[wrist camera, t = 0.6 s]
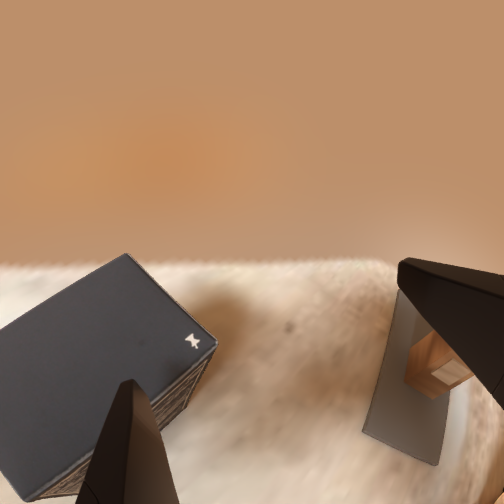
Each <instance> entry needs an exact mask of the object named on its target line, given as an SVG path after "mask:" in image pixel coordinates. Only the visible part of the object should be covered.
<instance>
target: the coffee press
mask: <svg viewBox="0 0 504 504" xmlns="http://www.w3.org/2000/svg"><path fill="white" fill-rule="evenodd" d="M503 492H504V489H503ZM494 504H504V493H503V494H502V495H501V496H500V497H499V498H498V499H497V500H496V502H495V503H494Z"/></svg>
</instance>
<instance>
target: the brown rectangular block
mask: <svg viewBox="0 0 504 504" xmlns="http://www.w3.org/2000/svg"><path fill="white" fill-rule="evenodd" d="M472 376H474V373H473V372H472V371H471V370H470V369H469V368H468V367H467V365H466V364H465V363H464V362H463V361H462V360H461V359H460V357H459V356H458V355H457V354H456V353H455V352H454V351H453V350H452V349H451V347H450V346H449V345H448V344H447V343H446V342H445V341H444V340H443V339H442V338H441V337H440V335H439V334H438V333H437V332H436V331H435V330H433V331H432V332H431V333H429V334H428V335H427V336H425V337H424V338H423V339H422V340H420V341H419V342H418V343H416V344H415V345H414V346H412V347H411V348H410V350H409V356H408V362H407V367H406V372H405V377H404V382H405V383H406V384H408V385H410V386H411V387H413V388H414V389H416V390H418V391H419V392H421V393H423V394H424V395H426V396H427V397H429V398H431V399H432V400H433V399H434V398H436V397H438V396H440V395H442V394H444V393H445V392H447V391H449V390H451V389H452V388H454V387H456V386H457V385H459V384H461V383H462V382H464V381H466V380H467V379H469V378H471V377H472Z"/></svg>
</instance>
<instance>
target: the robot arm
mask: <svg viewBox="0 0 504 504" xmlns="http://www.w3.org/2000/svg"><path fill="white" fill-rule="evenodd" d="M397 284H398V286H399V288H400V289H401V291H402V292H403V293H404V294H405V296H406V297H407V298H408V299H409V301H410V302H411V303H412V304H413V306H414V307H415V308H416V310H417V311H418V312H419V313H420V315H421V316H422V317H423V318H424V319H425V320H426V322H427V323H428V324H429V325H430V326H431V327H432V328H433V329H434V330H435V331H436V332H437V333H438V334H439V335H440V337H441V338H442V339H443V340H444V341H445V342H446V343H447V344H448V345H449V346H450V347H451V349H452V350H453V351H454V352H455V353H456V354H457V355H458V356H459V357H460V359H461V360H462V361H463V362H464V363H465V364H466V365H467V367H468V368H469V369H470V370H471V371H472V372H473V373H474V375H475V376H476V377H477V378H478V379H479V381H480V382H481V383H482V384H483V385H484V386H485V388H486V389H487V390H488V391H489V392H490V394H492V396H493V398H494V399H495V400H496V401H497V403H498V404H499V405H500V406H501V408H502V409H503V410H504V275H498V274H495V273H489V272H485V271H479V270H474V269H469V268H464V267H458V266H454V265H448V264H442V263H437V262H432V261H426V260H421V259H416V258H410V257H409V258H406V259H404V260H402V261H401V262H399V264H398V273H397ZM84 480H85V481H83V482H82V485H81V488H80V491H79V494H78V497H77V499H76V502H75V504H179V500H178V497H177V493H176V490H175V486H174V483H173V479H172V475H171V471H170V467H169V463H168V459H167V455H166V451H165V447H164V443H163V440H162V437H161V434H160V431H159V428H158V425H157V422H156V419H155V416H154V413H153V410H152V407H151V404H150V401H149V398H148V396H147V394H146V393H145V392H144V391H143V389H142V388H141V387H140V386H139V384H138V383H137V382H136V381H135V380H134V379H129V380H126V381H123V382H121V383H120V385H119V388H118V390H117V392H116V395H115V397H114V400H113V402H112V405H111V407H110V410H109V412H108V415H107V417H106V420H105V422H104V425H103V427H102V430H101V433H100V435H99V438H98V440H97V443H96V446H95V448H94V451H93V454H92V457H91V459H90V462H89V465H88V468H87V471H86V474H85V477H84Z"/></svg>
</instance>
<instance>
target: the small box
mask: <svg viewBox="0 0 504 504" xmlns="http://www.w3.org/2000/svg"><path fill="white" fill-rule="evenodd" d="M217 346H218V340H217V338H216V337H214V336H213V335H212V334H211V333H210V332H209V331H207V330H206V329H205V328H204V327H203V326H202V325H201V324H199V323H198V322H197V321H196V320H195V319H194V318H193V317H192V316H191V315H190V314H189V313H188V312H187V311H186V310H185V309H184V308H183V307H182V306H181V305H180V304H179V303H178V302H176V301H175V300H174V299H173V298H172V297H171V296H170V295H169V294H168V293H167V292H166V291H165V290H164V289H163V288H162V287H161V286H160V285H159V284H158V283H157V282H156V281H155V280H154V278H152V277H151V276H150V275H149V274H148V273H147V272H146V271H145V270H144V268H143V267H142V266H141V265H140V264H138V262H137V261H136V260H135V259H134V258H133V257H132V256H131V255H130V254H128V253H124V254H123V255H121V256H119V257H118V258H116V259H114V260H112V261H111V262H109V263H107V264H105V265H103V266H102V267H100V268H98V269H96V270H95V271H93V272H91V273H90V274H88V275H86V276H85V277H83V278H81V279H80V280H78V281H76V282H75V283H73V284H71V285H70V286H68V287H66V288H65V289H63V290H62V291H60V292H58V293H57V294H55V295H53V296H52V297H50V298H49V299H47V300H45V301H44V302H42V303H41V304H39V305H37V306H36V307H34V308H33V309H31V310H30V311H28V312H26V313H25V314H23V315H22V316H20V317H19V318H17V319H16V320H14V321H13V322H11V323H9V324H8V325H6V326H5V327H3V328H2V329H0V471H1V473H2V474H3V476H4V477H5V478H6V480H7V481H8V482H9V484H10V485H11V487H12V488H13V489H14V491H15V492H16V493H17V494H18V496H19V497H20V498H21V499H22V500H23V501H24V502H34V501H35V500H41V499H46V498H53V497H54V498H56V497H63V496H72V495H78V494H79V491H80V488H81V485H82V482H83V481H85V480H84V477H85V474H86V471H87V468H88V465H89V462H90V459H91V457H92V454H93V451H94V448H95V446H96V443H97V440H98V438H99V435H100V433H101V430H102V427H103V425H104V422H105V420H106V417H107V415H108V412H109V410H110V407H111V405H112V402H113V400H114V397H115V395H116V392H117V390H118V388H119V385H120V383H121V382H123V381H126V380H129V379H134V380H135V381H136V382H137V383H138V384H139V386H140V387H141V388H142V389H143V391H144V392H145V393H146V394H147V396H148V398H149V401H150V404H151V407H152V410H153V413H154V416H155V419H156V422H157V425H158V428H159V431H161V430H162V429H163V428H164V427H165V426H166V425H168V424H169V423H170V422H171V421H172V420H173V419H174V418H175V417H176V416H177V415H178V414H179V413H180V412H181V411H182V410H183V409H185V408H186V407H187V404H188V402H189V399H190V397H191V395H192V393H193V391H194V389H195V387H196V384H197V383H198V382H199V380H200V378H201V376H202V374H203V373H204V371H205V369H206V367H207V365H208V363H209V361H210V360H211V358H212V355H213V354H214V352H215V350H216V348H217Z"/></svg>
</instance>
